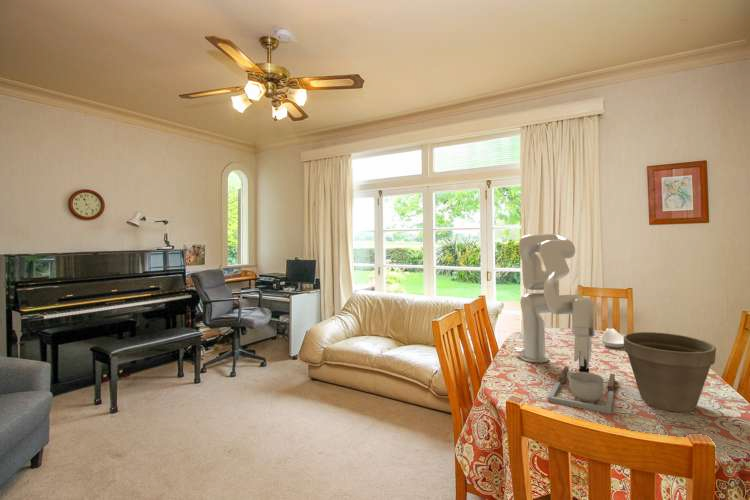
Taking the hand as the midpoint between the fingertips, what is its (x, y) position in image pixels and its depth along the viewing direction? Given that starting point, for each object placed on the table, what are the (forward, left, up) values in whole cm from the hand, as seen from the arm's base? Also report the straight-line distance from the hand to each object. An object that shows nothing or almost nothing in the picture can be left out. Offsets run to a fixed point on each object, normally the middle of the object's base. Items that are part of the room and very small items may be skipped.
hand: (584, 378), depth 142 cm
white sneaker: (+5, +76, -4) cm, 76 cm away
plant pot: (+25, 0, -4) cm, 25 cm away
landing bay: (0, -10, -4) cm, 11 cm away
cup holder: (0, +8, -4) cm, 9 cm away
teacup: (+1, -9, -4) cm, 10 cm away
